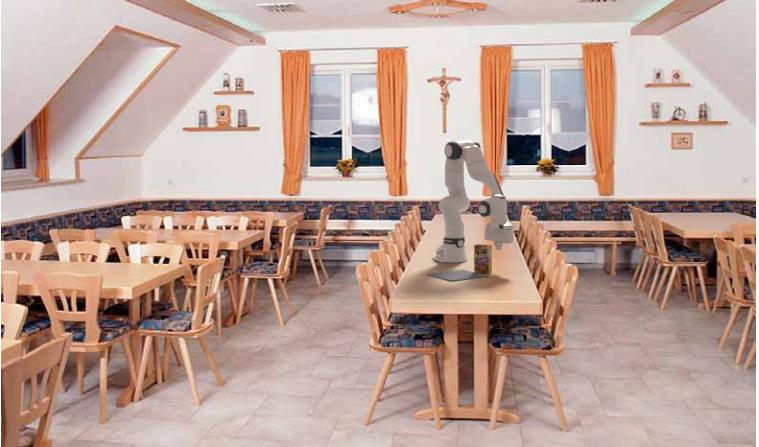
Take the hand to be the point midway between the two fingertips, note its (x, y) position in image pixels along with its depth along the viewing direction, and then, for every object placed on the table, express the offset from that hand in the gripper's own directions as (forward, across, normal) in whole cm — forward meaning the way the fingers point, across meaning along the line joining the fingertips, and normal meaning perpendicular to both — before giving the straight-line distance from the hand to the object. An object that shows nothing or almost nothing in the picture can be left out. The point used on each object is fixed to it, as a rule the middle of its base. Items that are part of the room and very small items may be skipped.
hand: (498, 249), depth 422 cm
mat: (+12, 0, -28) cm, 30 cm away
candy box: (+12, 0, -11) cm, 16 cm away
